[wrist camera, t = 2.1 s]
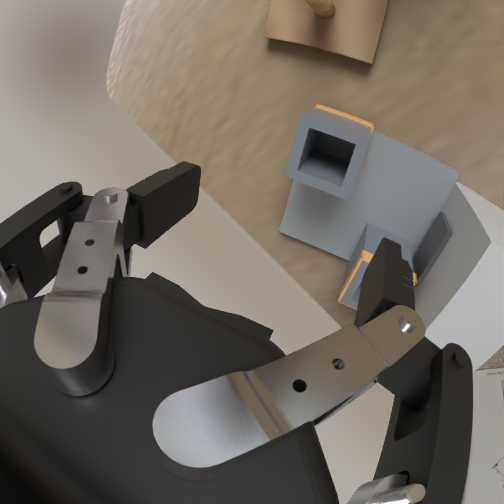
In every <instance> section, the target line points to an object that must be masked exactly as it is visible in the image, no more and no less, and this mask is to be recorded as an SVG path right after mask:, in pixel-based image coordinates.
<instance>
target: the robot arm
mask: <svg viewBox="0 0 504 504" xmlns="http://www.w3.org/2000/svg"><path fill="white" fill-rule="evenodd" d="M200 176H201V168H200V166H198V165H195V164H192V163H189V162H185V161H183V162H181V163H179V164H177V165H175V166H173V167H171V168H169V169H165V170H161V171H158V172H157V173H155V174H153V175H152V176H149V177H147V178H145V180H142V181H140V182H138V183H136V184H135V185H133V186H131V187H129V188H128V189H126V190H124V189H122V188H115V187H112V188H106V189H103V190H100V191H99V192H97V193H96V194H95V195H94V196H87V195H83V193H82V186H81V184H80V183H78V182H66V183H62V184H60V185H58V186H56V187H54V188H53V189H51V190H49V191H48V192H46V193H45V194H43V195H42V196H40V197H38V198H37V199H35V200H34V201H32V202H31V203H29V204H28V205H26V206H25V207H23V208H22V209H20V210H19V211H17V212H16V213H14V214H13V215H12V216H10V217H9V218H7V219H6V220H5V221H3V222H2V223H1V224H0V504H339V500H338V495H337V492H336V489H335V487H334V483H333V481H332V477H331V474H330V472H329V469H328V466H327V462H326V460H325V457H324V454H323V451H322V448H321V445H320V442H319V439H318V436H317V433H316V430H315V426H317V425H319V424H320V423H322V422H323V421H325V420H327V419H328V418H329V417H331V416H332V415H334V414H335V413H336V412H338V411H339V410H341V409H342V408H343V407H345V406H346V405H348V404H349V403H351V402H352V401H353V400H355V399H356V398H357V397H359V396H360V395H362V394H363V393H364V392H366V391H367V390H368V389H370V388H371V387H372V386H373V385H375V384H376V383H377V382H378V383H380V384H381V385H382V386H384V387H385V388H386V389H388V390H389V391H390V392H392V393H393V394H394V395H395V398H394V403H393V408H392V412H391V417H390V421H389V426H388V430H387V434H386V438H385V441H384V445H383V449H382V452H381V456H380V459H379V463H378V466H377V469H376V472H375V475H374V478H373V481H370V482H367V483H365V484H363V485H361V486H360V487H359V488H358V489H357V490H356V491H355V492H354V494H353V496H352V498H351V499H350V501H349V502H348V503H347V504H461V503H462V499H463V494H464V489H465V484H466V478H467V472H468V465H469V458H470V449H471V439H472V425H473V367H472V362H471V359H470V357H469V355H468V353H467V352H466V351H465V349H463V348H462V347H461V346H460V345H458V344H456V343H448V344H447V345H446V346H445V347H444V348H443V349H440V348H439V347H438V346H436V345H435V344H434V343H433V342H431V341H430V340H429V339H428V338H426V337H425V332H426V328H425V324H424V322H423V320H422V318H421V317H420V316H419V314H418V313H417V312H415V295H414V289H413V288H414V282H413V271H412V269H411V267H410V265H409V263H408V261H406V260H404V259H402V251H401V244H399V243H396V242H394V241H392V240H390V239H388V238H385V237H384V238H383V239H382V240H381V242H380V244H379V246H378V248H377V250H376V251H375V253H374V255H373V257H372V259H371V261H370V262H369V264H368V266H367V268H366V270H365V273H364V275H363V278H362V283H361V289H360V295H359V301H358V307H357V312H356V317H355V323H354V324H350V325H348V326H346V327H344V328H342V329H340V330H338V331H336V332H335V333H332V334H330V335H329V336H326V337H324V338H322V339H321V340H318V341H316V342H314V343H312V344H310V345H308V346H306V347H304V348H302V349H300V350H298V351H295V352H293V353H291V354H289V355H287V356H286V355H285V354H284V353H283V351H282V350H281V349H280V348H279V347H278V346H276V345H275V344H274V343H273V342H272V341H270V340H269V339H270V337H271V335H272V332H273V330H272V329H270V328H267V327H265V326H263V325H261V324H259V323H256V322H254V321H252V320H250V319H247V318H245V317H243V316H241V315H237V314H232V313H228V312H224V311H220V310H216V309H212V308H208V307H205V306H203V305H202V304H200V303H199V302H198V301H197V300H196V299H194V298H193V297H192V296H191V295H190V294H188V293H187V292H186V291H185V290H184V289H182V288H181V287H180V286H179V285H177V284H175V283H173V282H171V281H169V280H167V279H165V278H163V277H161V276H160V275H158V274H156V273H154V272H152V273H151V274H150V275H149V276H148V277H147V278H146V279H142V278H136V277H130V272H131V261H132V246H133V245H134V244H137V245H139V246H141V247H143V248H145V249H146V248H147V247H148V246H149V245H150V244H152V243H153V242H154V241H155V240H156V239H158V238H159V237H160V236H161V235H163V234H164V233H165V232H166V231H168V230H169V229H170V228H171V227H172V226H173V225H175V224H176V223H177V222H179V221H180V220H181V219H182V218H184V217H185V216H186V215H187V214H189V213H190V212H191V211H192V210H193V209H194V207H195V206H196V204H197V201H198V194H199V185H200ZM56 220H57V224H58V228H59V233H60V234H59V235H58V236H56V237H55V238H54V239H53V240H51V241H50V242H49V243H48V244H46V245H45V246H44V247H43V248H42V247H41V244H40V234H41V232H42V231H43V230H44V229H45V228H46V227H48V226H49V225H50V224H52V223H53V222H54V221H56ZM55 276H56V278H55V282H54V285H53V289H52V291H51V292H50V293H47V294H46V295H42V296H38V297H34V296H35V295H36V294H37V293H38V292H39V291H40V290H41V289H42V288H43V287H44V286H45V285H47V284H48V283H49V282H50V281H51V280H52V279H53V278H54V277H55ZM33 297H34V298H33Z"/></svg>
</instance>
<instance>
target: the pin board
mask: <svg viewBox="0 0 504 504" xmlns="http://www.w3.org/2000/svg"><path fill="white" fill-rule="evenodd" d="M387 4H388V0H271V3H270V8H269V12H268V16H267V21H266V25H265V30H264V34H263V37H265V38H268V39H274V40H280V41H285V42H290V43H295V44H300V45H304V46H308V47H313V48H317V49H321V50H324V51H328V52H332V53H335V54H339V55H342V56H345V57H349V58H352V59H355V60H358V61H361V62H364V63H367V64H370V65H372V64H373V61H374V57H375V53H376V49H377V46H378V42H379V38H380V34H381V30H382V26H383V22H384V17H385V13H386V9H387Z"/></svg>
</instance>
